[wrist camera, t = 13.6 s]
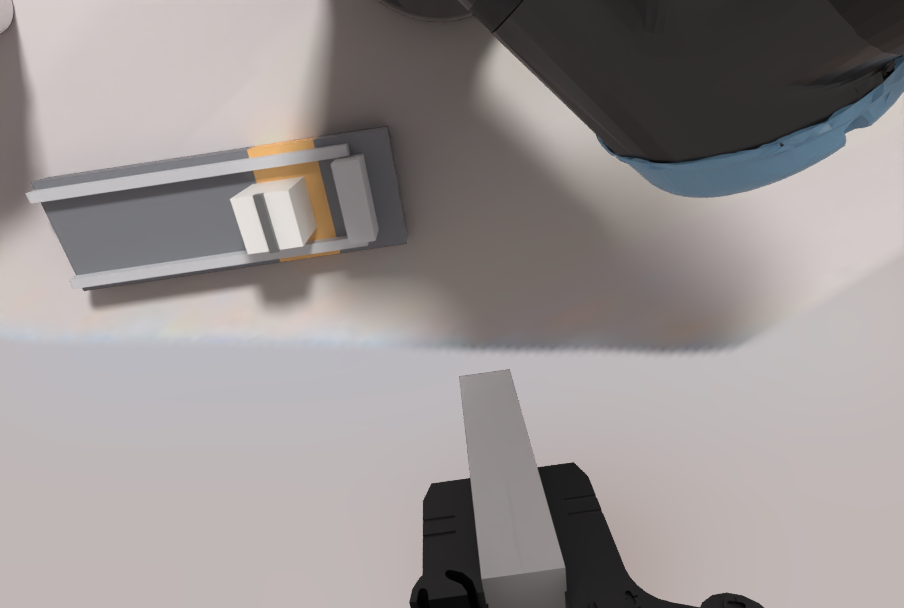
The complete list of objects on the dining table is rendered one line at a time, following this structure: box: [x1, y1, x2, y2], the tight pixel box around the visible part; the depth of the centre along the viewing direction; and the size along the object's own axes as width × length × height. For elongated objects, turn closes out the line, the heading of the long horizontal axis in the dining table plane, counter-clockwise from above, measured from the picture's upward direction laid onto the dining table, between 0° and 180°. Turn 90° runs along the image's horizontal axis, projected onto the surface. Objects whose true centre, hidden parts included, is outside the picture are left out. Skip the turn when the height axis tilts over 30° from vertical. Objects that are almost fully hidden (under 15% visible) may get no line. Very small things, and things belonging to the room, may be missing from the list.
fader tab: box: [230, 176, 317, 254], centre depth 37 cm, size 4×4×5 cm
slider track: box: [25, 126, 407, 291], centre depth 39 cm, size 9×27×5 cm, turn 98°
